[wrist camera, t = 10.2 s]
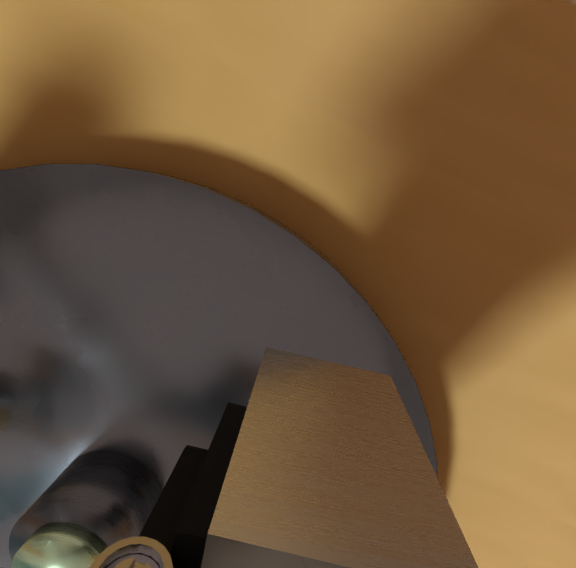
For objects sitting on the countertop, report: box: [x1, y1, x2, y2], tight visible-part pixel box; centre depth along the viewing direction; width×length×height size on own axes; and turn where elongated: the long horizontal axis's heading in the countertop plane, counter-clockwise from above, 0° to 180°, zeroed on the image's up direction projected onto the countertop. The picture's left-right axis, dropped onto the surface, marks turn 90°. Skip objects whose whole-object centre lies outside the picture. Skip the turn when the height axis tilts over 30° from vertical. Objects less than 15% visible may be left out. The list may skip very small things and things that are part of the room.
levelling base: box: [0, 164, 437, 568], centre depth 12 cm, size 24×24×4 cm
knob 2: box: [201, 347, 478, 568], centre depth 8 cm, size 7×3×8 cm, turn 168°
